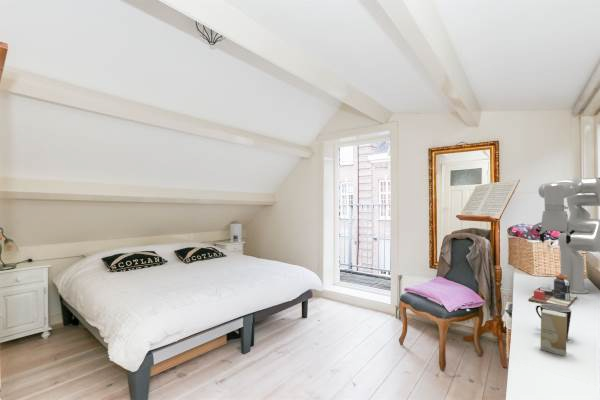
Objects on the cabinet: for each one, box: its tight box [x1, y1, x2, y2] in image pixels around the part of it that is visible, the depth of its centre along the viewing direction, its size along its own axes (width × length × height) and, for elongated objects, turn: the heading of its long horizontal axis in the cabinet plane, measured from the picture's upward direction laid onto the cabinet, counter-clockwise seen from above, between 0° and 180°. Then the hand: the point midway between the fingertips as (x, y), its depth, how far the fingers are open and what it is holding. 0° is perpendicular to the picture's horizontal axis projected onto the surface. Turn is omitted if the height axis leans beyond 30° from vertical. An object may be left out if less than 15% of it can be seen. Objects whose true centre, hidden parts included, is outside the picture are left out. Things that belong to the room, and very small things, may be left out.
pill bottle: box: [553, 274, 571, 300], centre depth 150 cm, size 6×6×11 cm
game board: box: [528, 286, 578, 309], centre depth 153 cm, size 24×14×3 cm, turn 131°
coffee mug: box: [535, 303, 572, 340], centre depth 112 cm, size 12×9×10 cm
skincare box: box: [539, 309, 568, 357], centre depth 99 cm, size 6×4×12 cm
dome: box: [540, 284, 552, 292], centre depth 160 cm, size 5×5×4 cm
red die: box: [533, 289, 545, 300], centre depth 151 cm, size 4×4×4 cm
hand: (555, 242), depth 155 cm, fingers open, 9 cm apart
